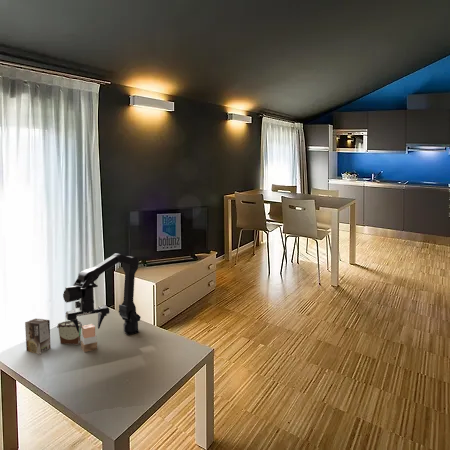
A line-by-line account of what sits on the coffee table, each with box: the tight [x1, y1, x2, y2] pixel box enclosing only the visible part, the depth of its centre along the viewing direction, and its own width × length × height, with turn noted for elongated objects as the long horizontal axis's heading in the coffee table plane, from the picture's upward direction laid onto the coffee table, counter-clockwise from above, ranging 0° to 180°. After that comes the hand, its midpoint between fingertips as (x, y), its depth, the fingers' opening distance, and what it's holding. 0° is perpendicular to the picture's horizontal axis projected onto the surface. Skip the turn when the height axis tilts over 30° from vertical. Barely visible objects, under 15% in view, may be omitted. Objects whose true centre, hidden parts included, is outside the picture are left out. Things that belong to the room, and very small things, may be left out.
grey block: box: [81, 334, 98, 345], centre depth 177 cm, size 6×6×3 cm
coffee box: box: [24, 318, 52, 356], centre depth 177 cm, size 9×6×16 cm
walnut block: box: [80, 340, 98, 353], centre depth 177 cm, size 6×6×4 cm
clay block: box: [81, 323, 96, 338], centre depth 176 cm, size 5×5×4 cm
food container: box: [57, 320, 83, 346], centre depth 185 cm, size 12×6×10 cm, turn 83°
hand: (88, 330), depth 176 cm, fingers open, 9 cm apart
